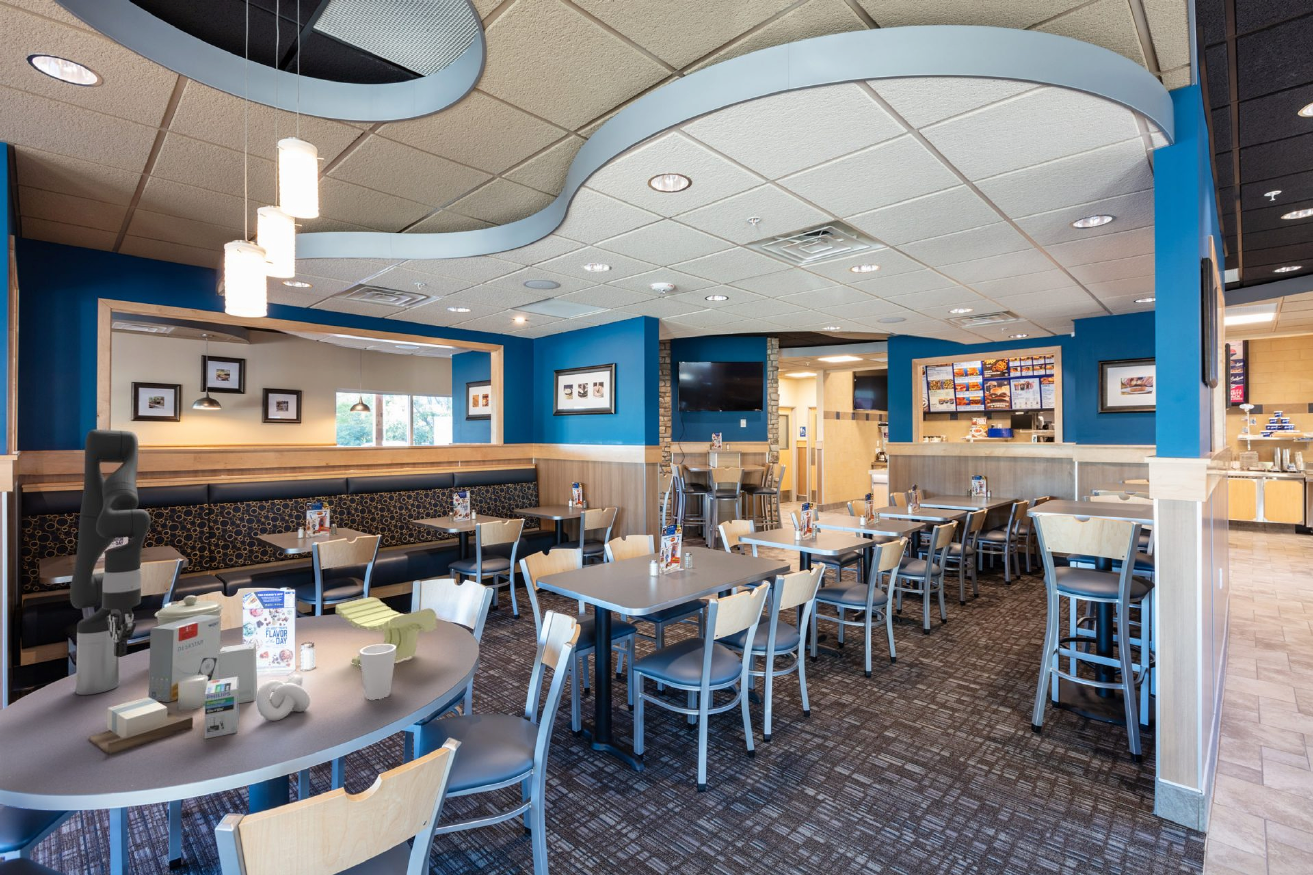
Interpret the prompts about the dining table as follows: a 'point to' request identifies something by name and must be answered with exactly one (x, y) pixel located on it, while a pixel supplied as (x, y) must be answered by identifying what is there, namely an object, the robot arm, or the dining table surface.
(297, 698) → the white knot sculpture
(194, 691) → the white cylinder
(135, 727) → the cream carton
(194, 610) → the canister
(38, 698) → the dining table surface
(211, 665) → the hard drive box
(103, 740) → the walnut display plinth
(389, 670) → the foam cup
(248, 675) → the skincare box
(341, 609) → the slatted curved stool
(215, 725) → the light bulb box
